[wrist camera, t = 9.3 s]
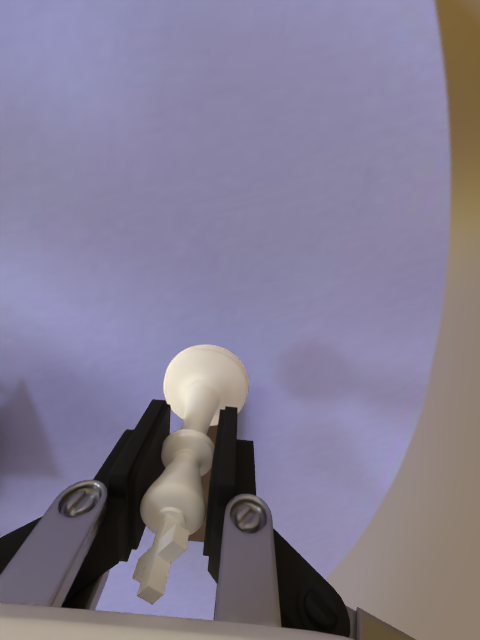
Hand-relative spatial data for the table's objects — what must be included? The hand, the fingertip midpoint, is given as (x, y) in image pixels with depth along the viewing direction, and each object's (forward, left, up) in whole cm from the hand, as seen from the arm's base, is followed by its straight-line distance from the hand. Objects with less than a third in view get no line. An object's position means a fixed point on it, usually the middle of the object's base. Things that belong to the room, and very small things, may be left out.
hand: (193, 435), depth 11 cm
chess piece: (0, 0, -5) cm, 5 cm away
